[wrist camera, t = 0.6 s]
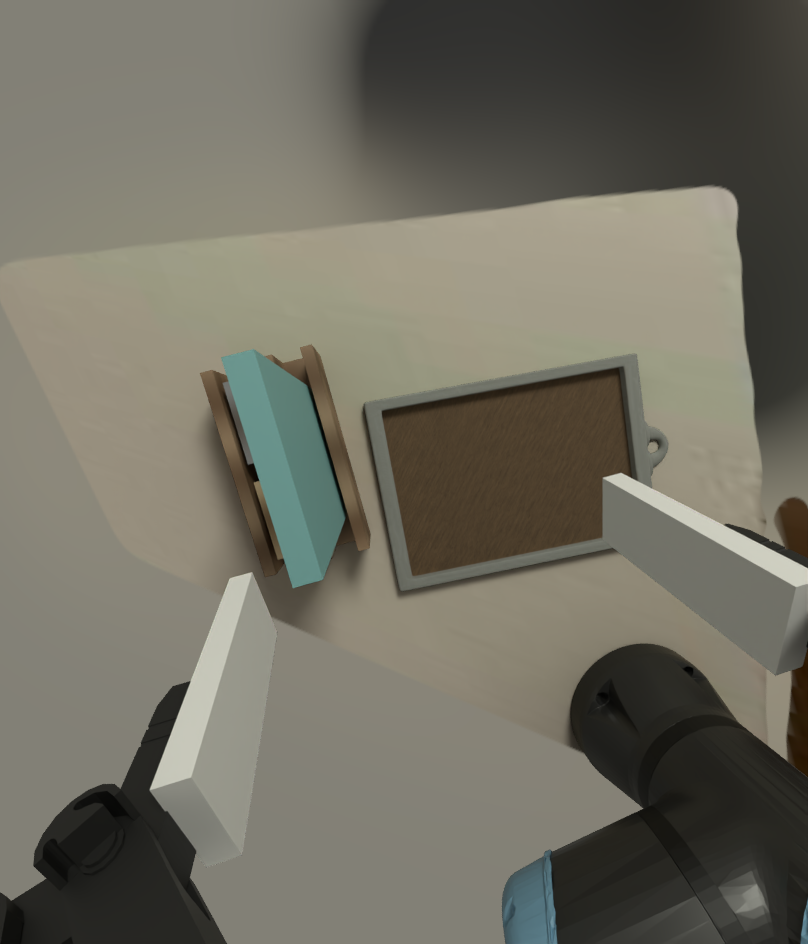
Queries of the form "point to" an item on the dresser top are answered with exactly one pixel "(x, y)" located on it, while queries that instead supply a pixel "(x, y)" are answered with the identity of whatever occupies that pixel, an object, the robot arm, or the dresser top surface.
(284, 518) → the teal rectangular slab
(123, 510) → the dresser top surface
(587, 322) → the dresser top surface
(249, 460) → the offcut charcoal
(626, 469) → the framed cork board
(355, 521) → the rack
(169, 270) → the dresser top surface
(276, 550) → the offcut oak
